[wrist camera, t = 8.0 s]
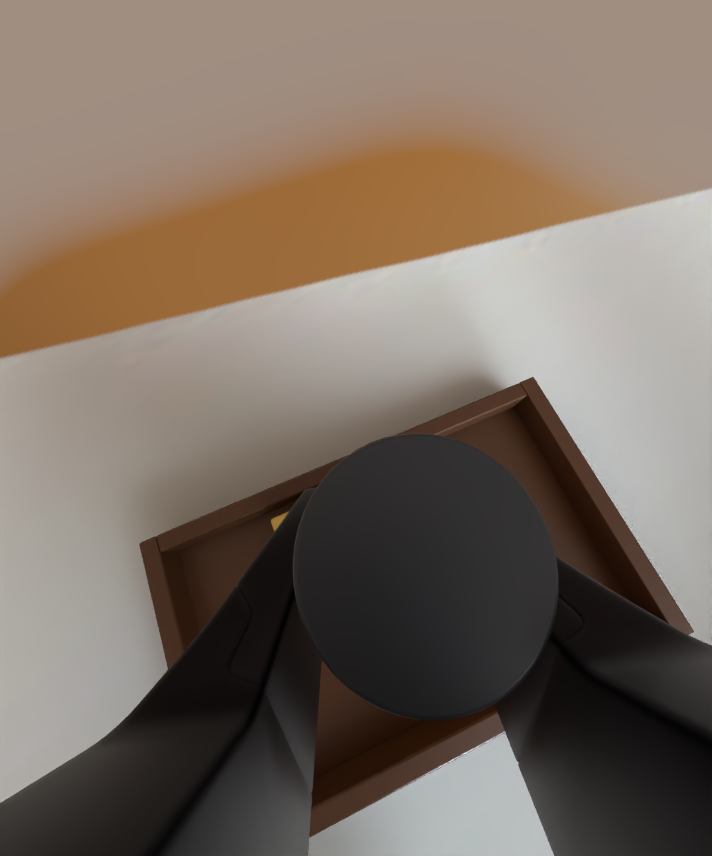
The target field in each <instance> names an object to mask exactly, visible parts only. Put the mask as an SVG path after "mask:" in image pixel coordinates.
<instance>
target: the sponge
mask: <svg viewBox="0 0 712 856" xmlns="http://www.w3.org/2000/svg"><path fill="white" fill-rule="evenodd" d="M287 514H288V512H286V513H284V514H282V515H280V516H277V517H275V518H273V519H272V520H271V524H272V526H273V529H274V532H275V530H276V529H277V528H278V526H279V525H280V523H281V522H282V521H283V519H284V518H285V516H286V515H287ZM293 585H294V591H295V597H296V603H297V607H298V610H299V614H300V617H301V620H302V623H303V625H304V628H305V630H306V632H307V635H308V637H309V639H310V641H311V643H312V645H313V646H314V648H315V650H316V651H317V653H318V655H319V657H320V658H321V659H322V661H323V662H324V663H325V664H326V666H327V667H328V668H329V670H330V671H331V672H332V673H333V674H334V675H335V676H336V677H337V678H338V679H339V680H340V681H341V682H342V683H343V684H344V685H345V686H346V687H347V688H348V689H349V690H351V691H352V692H354V693H355V694H356V695H358V696H359V697H360V698H362V699H363V700H365V701H367V702H369V703H370V704H372V705H374V706H376V707H378V708H380V709H382V710H385V711H387V712H390V713H393V714H396V715H399V716H403V717H408V718H413V719H419V720H447V719H454V718H460V717H464V716H467V715H470V714H474V713H477V712H479V711H481V710H483V709H486V708H488V707H490V706H492V705H494V704H495V703H497V702H498V701H500V700H501V699H503V698H504V697H505V696H507V695H508V694H510V693H511V692H512V691H513V690H514V689H515V688H516V687H517V686H518V685H519V684H520V683H521V682H522V681H523V680H524V679H525V678H526V677H527V675H528V674H529V673H530V671H531V670H532V669H533V668H534V666H535V665H536V663H537V661H538V660H539V658H540V656H541V654H542V652H543V651H544V649H545V647H546V644H547V641H548V639H549V636H550V634H551V631H552V628H553V623H554V619H555V615H556V610H557V601H558V570H557V562H556V555H555V551H554V547H553V543H552V539H551V536H550V534H549V531H548V528H547V526H546V523H545V521H544V519H543V517H542V515H541V513H540V511H539V509H538V507H537V505H536V504H535V502H534V501H533V499H532V498H531V496H530V495H529V493H528V492H527V490H526V489H525V488H524V487H523V486H522V484H521V483H520V482H519V481H518V480H517V478H516V477H515V476H514V475H512V474H511V473H510V472H509V471H508V470H507V469H506V468H505V467H504V466H503V465H501V464H500V463H499V462H497V461H496V460H495V459H493V458H492V457H491V456H489V455H488V454H486V453H484V452H482V451H481V450H479V449H477V448H475V447H473V446H471V445H469V444H466V443H464V442H462V441H459V440H455V439H452V438H449V437H445V436H439V435H433V434H419V433H413V434H401V435H396V436H391V437H386V438H383V439H380V440H377V441H374V442H371V443H369V444H367V445H365V446H363V447H361V448H359V449H357V450H356V451H354V452H353V453H351V454H350V455H348V456H347V457H345V458H344V459H343V460H342V461H340V462H339V463H338V464H337V465H336V466H335V467H334V468H333V469H331V471H330V472H329V473H328V474H327V475H326V476H325V478H324V479H323V480H322V481H321V482H320V484H319V485H318V487H317V488H316V490H315V491H314V493H313V494H312V496H311V498H310V500H309V502H308V504H307V506H306V508H305V510H304V512H303V515H302V518H301V521H300V524H299V527H298V531H297V535H296V540H295V545H294V554H293Z"/></svg>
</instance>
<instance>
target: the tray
mask: <svg viewBox="0 0 712 856" xmlns="http://www.w3.org/2000/svg"><path fill="white" fill-rule="evenodd" d="M413 433H419V434H433V435H439V436H445V437H449V438H452V439H455V440H459V441H462V442H464V443H466V444H469V445H471V446H473V447H475V448H477V449H479V450H481V451H482V452H484V453H486V454H488V455H489V456H491V457H492V458H493V459H495V460H496V461H497V462H499V463H500V464H501V465H503V466H504V467H505V468H506V469H507V470H508V471H509V472H510V473H511V474H512V475H514V476H515V477H516V478H517V480H518V481H519V482H520V483H521V484H522V486H523V487H524V488H525V489H526V490H527V492H528V493H529V495H530V496H531V498H532V499H533V501H534V502H535V504H536V505H537V507H538V509H539V511H540V513H541V515H542V517H543V519H544V521H545V523H546V526H547V528H548V531H549V534H550V536H551V539H552V543H553V547H554V551H555V555H556V556H558V557H559V558H561V559H562V560H564V561H565V562H567V563H568V564H570V565H571V566H573V567H574V568H576V569H577V570H579V571H580V572H582V573H584V574H585V575H587V576H589V577H590V578H592V579H593V580H595V581H597V582H598V583H600V584H602V585H603V586H605V587H607V588H608V589H610V590H612V591H613V592H615V593H617V594H619V595H620V596H622V597H624V598H625V599H627V600H629V601H630V602H632V603H634V604H636V605H637V606H639V607H641V608H642V609H644V610H646V611H647V612H649V613H651V614H653V615H654V616H656V617H658V618H659V619H661V620H663V621H665V622H666V623H668V624H670V625H671V626H673V627H675V628H676V629H678V630H680V631H682V632H684V633H686V634H687V635H689V634H691V633H693V632H694V631H693V629H692V627H691V626H690V624H689V623H688V621H687V620H686V618H685V616H684V615H683V613H682V612H681V610H680V608H679V607H678V605H677V604H676V602H675V601H674V599H673V597H672V596H671V594H670V593H669V591H668V589H667V588H666V586H665V585H664V583H663V582H662V580H661V578H660V577H659V575H658V574H657V572H656V570H655V569H654V567H653V566H652V564H651V563H650V561H649V559H648V558H647V556H646V555H645V553H644V551H643V550H642V548H641V547H640V545H639V544H638V542H637V540H636V539H635V537H634V536H633V534H632V532H631V531H630V529H629V528H628V526H627V524H626V523H625V521H624V520H623V518H622V517H621V515H620V513H619V512H618V510H617V509H616V507H615V505H614V504H613V502H612V501H611V499H610V498H609V496H608V494H607V493H606V491H605V490H604V488H603V486H602V485H601V483H600V482H599V480H598V479H597V477H596V475H595V474H594V472H593V471H592V469H591V467H590V466H589V464H588V463H587V461H586V460H585V458H584V456H583V455H582V453H581V452H580V450H579V448H578V447H577V445H576V444H575V442H574V441H573V439H572V437H571V436H570V434H569V433H568V431H567V429H566V428H565V426H564V425H563V423H562V422H561V420H560V418H559V417H558V415H557V414H556V412H555V410H554V409H553V407H552V406H551V404H550V403H549V401H548V399H547V398H546V396H545V395H544V393H543V391H542V390H541V388H540V387H539V385H538V384H537V382H536V380H535V379H534V377H532V378H529V379H527V380H525V381H522V382H520V383H519V384H516V385H513V386H511V387H509V388H506V389H504V390H501V391H499V392H497V393H494V394H492V395H490V396H487V397H485V398H482V399H480V400H478V401H475V402H473V403H471V404H468V405H466V406H463V407H461V408H459V409H456V410H454V411H452V412H449V413H447V414H445V415H442V416H440V417H437V418H435V419H433V420H430V421H428V422H426V423H423V424H421V425H418V426H416V427H414V428H411V429H409V430H407V431H404V432H402V433H399V434H397V435H401V434H413ZM395 436H396V435H395ZM347 456H348V455H347ZM347 456H345V457H347ZM345 457H342V458H340V459H338V460H335V461H333V462H331V463H328V464H326V465H324V466H321V467H319V468H316V469H314V470H312V471H309V472H307V473H305V474H302V475H300V476H297V477H295V478H293V479H290V480H288V481H286V482H283V483H281V484H278V485H276V486H274V487H271V488H269V489H267V490H264V491H262V492H259V493H257V494H255V495H252V496H250V497H248V498H245V499H243V500H240V501H238V502H236V503H233V504H231V505H229V506H226V507H224V508H221V509H219V510H217V511H214V512H212V513H210V514H207V515H205V516H203V517H200V518H198V519H195V520H193V521H191V522H188V523H186V524H184V525H181V526H179V527H176V528H174V529H172V530H169V531H167V532H165V533H162V534H160V535H158V536H157V537H153V538H150V539H148V540H146V541H143V542H141V543H140V549H141V553H142V558H143V562H144V566H145V571H146V575H147V579H148V584H149V588H150V592H151V597H152V601H153V605H154V610H155V614H156V618H157V623H158V627H159V631H160V636H161V640H162V644H163V649H164V653H165V657H166V661H167V666H168V669H169V668H170V667H171V666H172V665H173V664H174V663H175V661H176V660H177V659H178V658H179V657H180V656H181V654H182V653H183V652H184V651H185V650H186V649H187V647H188V646H189V645H190V644H191V643H192V642H193V640H194V639H195V638H196V637H197V636H198V634H199V633H200V632H201V631H202V629H203V628H204V627H205V626H206V625H207V623H208V622H209V621H210V620H211V618H212V617H213V616H214V614H215V613H216V612H217V611H218V609H219V608H220V607H221V605H222V604H223V603H224V601H225V600H226V599H227V597H228V596H229V594H230V593H231V592H232V590H233V589H234V587H235V586H237V583H238V582H239V581H240V579H241V578H242V576H243V575H244V574H245V572H246V571H247V569H248V568H249V567H250V565H251V564H252V562H253V561H254V560H255V558H256V557H257V555H258V554H259V553H260V551H261V550H262V549H263V547H264V546H265V544H266V543H267V542H268V540H269V539H270V537H271V536H272V535H273V533H274V529H273V526H272V524H271V520H272V519H273V518H275V517H277V516H280V515H282V514H284V513H286V512H289V511H290V509H291V508H292V507H293V505H294V504H295V502H296V501H297V500H298V498H299V497H300V495H301V494H302V493H303V491H304V490H305V489H310V488H317V487H318V485H319V484H320V482H321V481H322V480H323V479H324V478H325V476H326V475H327V474H328V473H329V472H330V471H331V469H333V468H334V467H335V466H336V465H337V464H338V463H339V462H340V461H342V460H343V459H344V458H345ZM503 733H505V730H504V727H503V725H502V722H501V720H500V717H499V715H498V712H497V710H496V707H495V705H492V706H490V707H488V708H486V709H483V710H481V711H479V712H477V713H474V714H470V715H467V716H464V717H460V718H454V719H447V720H419V719H413V718H408V717H403V716H399V715H396V714H393V713H390V712H387V711H385V710H382V709H380V708H378V707H376V706H374V705H372V704H370V703H369V702H367V701H365V700H363V699H362V698H360V697H359V696H358V695H356V694H355V693H354V692H352V691H351V690H349V689H348V688H347V687H346V686H345V685H344V684H343V683H342V682H341V681H340V680H339V679H338V678H337V677H336V676H335V675H334V674H333V673H332V672H331V671H330V670H329V668H328V667H327V666H326V664H325V663H324V662H323V661H322V664H321V678H320V692H319V706H318V720H317V733H316V747H315V761H314V775H313V789H312V793H311V794H312V805H311V819H310V833H309V837H311V836H313V835H315V834H317V833H319V832H321V831H322V830H324V829H326V828H328V827H330V826H332V825H334V824H336V823H337V822H339V821H341V820H343V819H345V818H347V817H349V816H350V815H352V814H354V813H356V812H358V811H360V810H362V809H364V808H365V807H367V806H369V805H371V804H373V803H375V802H377V801H378V800H380V799H382V798H384V797H386V796H388V795H390V794H391V793H393V792H395V791H397V790H399V789H401V788H403V787H405V786H406V785H408V784H410V783H412V782H414V781H416V780H418V779H419V778H421V777H423V776H425V775H427V774H429V773H431V772H432V771H434V770H436V769H438V768H440V767H442V766H444V765H446V764H447V763H449V762H451V761H453V760H455V759H457V758H459V757H460V756H462V755H464V754H466V753H468V752H470V751H472V750H474V749H475V748H477V747H479V746H481V745H483V744H485V743H487V742H488V741H490V740H492V739H494V738H496V737H498V736H500V735H501V734H503Z"/></svg>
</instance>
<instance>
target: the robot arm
mask: <svg viewBox="0 0 712 856" xmlns="http://www.w3.org/2000/svg"><path fill="white" fill-rule="evenodd" d="M315 490H316V488H310V489H305V490H304V491H303V493H302V494H301V495H300V497H299V498H298V500H297V501H296V502H295V504H294V505H293V507H292V508H291V509H290V511H289V512H288V514H287V515H286V516H285V518H284V519H283V521H282V522H281V523H280V525H279V526H278V528H277V529H276V530H275V532H274V533H273V535H272V536H271V537H270V539H269V540H268V542H267V543H266V544H265V546H264V547H263V549H262V550H261V551H260V553H259V554H258V555H257V557H256V558H255V560H254V561H253V562H252V564H251V565H250V567H249V568H248V569H247V571H246V572H245V574H244V575H243V576H242V578H241V579H240V581H239V582H238V583H237V586H235V587H234V589H233V590H232V592H231V593H230V594H229V596H228V597H227V599H226V600H225V601H224V603H223V604H222V605H221V607H220V608H219V609H218V611H217V612H216V613H215V614H214V616H213V617H212V618H211V620H210V621H209V622H208V623H207V625H206V626H205V627H204V628H203V629H202V631H201V632H200V633H199V634H198V636H197V637H196V638H195V639H194V640H193V642H192V643H191V644H190V645H189V646H188V647H187V649H186V650H185V651H184V652H183V653H182V654H181V656H180V657H179V658H178V659H177V660H176V661H175V663H174V664H173V665H172V666H171V667H170V668H169V669H168V671H167V672H166V673H165V674H164V675H163V676H162V678H161V679H160V680H159V681H158V682H157V683H156V685H155V686H154V687H153V688H152V689H151V690H150V691H149V693H148V694H147V695H146V696H145V697H144V698H143V700H142V701H141V702H140V703H139V704H138V705H137V706H136V707H135V709H134V710H133V711H132V712H131V713H130V714H129V715H128V716H127V717H126V718H125V719H124V720H123V721H122V722H121V723H120V724H119V725H118V726H117V727H116V728H114V729H113V730H112V731H111V732H110V733H109V734H107V735H106V736H105V737H104V738H102V739H101V740H100V741H98V742H97V743H96V744H94V745H93V746H91V747H90V748H88V749H87V750H85V751H84V752H82V753H80V754H79V755H77V756H75V757H74V758H72V759H71V760H69V761H67V762H66V763H64V764H63V765H61V766H59V767H58V768H56V769H55V770H53V771H51V772H50V773H48V774H47V775H45V776H43V777H42V778H40V779H38V780H37V781H35V782H34V783H32V784H30V785H29V786H27V787H26V788H24V789H22V790H21V791H19V792H18V793H16V794H14V795H13V796H11V797H9V798H8V799H6V800H5V801H3V802H1V803H0V856H308V846H309V833H310V819H311V805H312V794H311V793H312V789H313V775H314V761H315V747H316V733H317V720H318V706H319V692H320V678H321V664H322V659H321V658H320V657H319V655H318V653H317V651H316V650H315V648H314V646H313V645H312V643H311V641H310V639H309V637H308V635H307V632H306V630H305V628H304V625H303V623H302V620H301V617H300V614H299V610H298V607H297V603H296V597H295V591H294V585H293V554H294V545H295V540H296V535H297V531H298V527H299V524H300V521H301V518H302V515H303V512H304V510H305V508H306V506H307V504H308V502H309V500H310V498H311V496H312V494H313V493H314V491H315ZM556 562H557V570H558V601H557V610H556V615H555V619H554V623H553V628H552V631H551V634H550V636H549V639H548V641H547V644H546V647H545V649H544V651H543V652H542V654H541V656H540V658H539V660H538V661H537V663H536V665H535V666H534V668H533V669H532V670H531V671H530V673H529V674H528V675H527V677H526V678H525V679H524V680H523V681H522V682H521V683H520V684H519V685H518V686H517V687H516V688H515V689H514V690H513V691H512V692H511V693H510V694H508V695H507V696H505V697H504V698H503V699H501V700H500V701H498V702H497V703H495V704H494V705H495V707H496V710H497V712H498V715H499V717H500V720H501V722H502V725H503V727H504V730H505V732H506V735H507V737H508V740H509V742H510V745H511V747H512V750H513V752H514V755H515V758H516V760H517V761H518V762H519V764H518V765H519V768H520V770H521V773H522V776H523V778H524V781H525V783H526V786H527V788H528V791H529V793H530V796H531V798H532V801H533V803H534V806H535V808H536V811H537V813H538V816H539V818H540V821H541V823H542V826H543V828H544V831H545V833H546V836H547V838H548V841H549V843H550V846H551V848H552V851H553V853H554V856H712V646H711V645H709V644H706V643H704V642H702V641H700V640H698V639H695V638H693V637H691V636H689V635H687V634H686V633H684V632H682V631H680V630H678V629H676V628H675V627H673V626H671V625H670V624H668V623H666V622H665V621H663V620H661V619H659V618H658V617H656V616H654V615H653V614H651V613H649V612H647V611H646V610H644V609H642V608H641V607H639V606H637V605H636V604H634V603H632V602H630V601H629V600H627V599H625V598H624V597H622V596H620V595H619V594H617V593H615V592H613V591H612V590H610V589H608V588H607V587H605V586H603V585H602V584H600V583H598V582H597V581H595V580H593V579H592V578H590V577H589V576H587V575H585V574H584V573H582V572H580V571H579V570H577V569H576V568H574V567H573V566H571V565H570V564H568V563H567V562H565V561H564V560H562V559H561V558H559V557H558V556H556Z"/></svg>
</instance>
